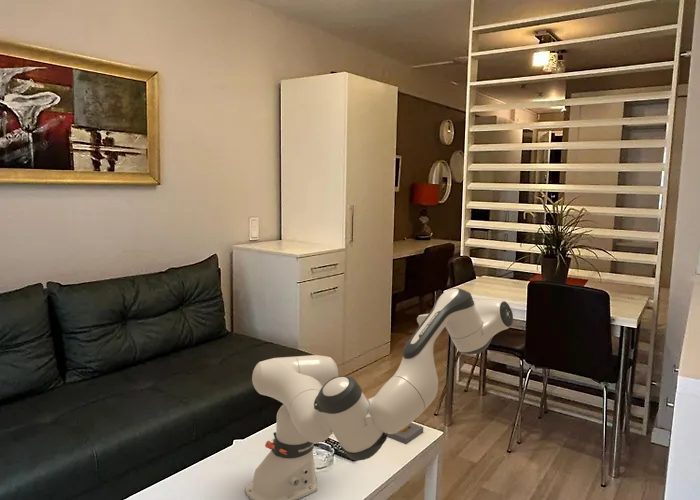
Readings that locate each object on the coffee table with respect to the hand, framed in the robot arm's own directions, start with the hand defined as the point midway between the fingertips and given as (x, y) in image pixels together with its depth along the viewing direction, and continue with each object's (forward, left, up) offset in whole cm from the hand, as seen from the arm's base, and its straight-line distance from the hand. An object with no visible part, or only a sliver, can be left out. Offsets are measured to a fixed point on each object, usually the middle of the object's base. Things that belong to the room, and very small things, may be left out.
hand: (429, 318), depth 163 cm
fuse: (+15, +18, -50) cm, 55 cm away
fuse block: (+15, +18, -50) cm, 55 cm away
